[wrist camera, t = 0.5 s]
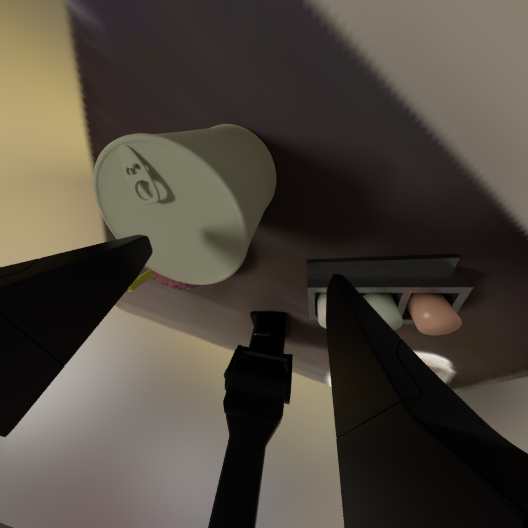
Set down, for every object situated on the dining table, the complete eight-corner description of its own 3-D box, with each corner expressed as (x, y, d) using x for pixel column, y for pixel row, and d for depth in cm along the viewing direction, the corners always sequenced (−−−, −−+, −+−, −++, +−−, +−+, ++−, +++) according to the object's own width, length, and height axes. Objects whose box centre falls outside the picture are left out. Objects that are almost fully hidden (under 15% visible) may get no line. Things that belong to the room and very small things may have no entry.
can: (262, 107, 16) (196, 95, 7) (285, 210, 21) (266, 285, 12) (175, 142, 19) (43, 167, 9) (214, 225, 24) (154, 294, 14)
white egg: (345, 307, 25) (349, 330, 22) (317, 306, 26) (318, 329, 23) (347, 288, 23) (352, 311, 20) (316, 288, 24) (318, 310, 21)
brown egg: (435, 309, 22) (453, 336, 20) (401, 309, 23) (413, 334, 21) (447, 288, 20) (469, 314, 18) (408, 288, 21) (423, 313, 18)
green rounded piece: (388, 308, 24) (398, 333, 21) (356, 307, 24) (362, 331, 22) (394, 288, 21) (407, 312, 19) (360, 288, 22) (367, 311, 20)
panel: (428, 308, 26) (444, 332, 23) (309, 305, 30) (309, 325, 27) (456, 254, 20) (480, 276, 17) (307, 259, 24) (306, 278, 21)
